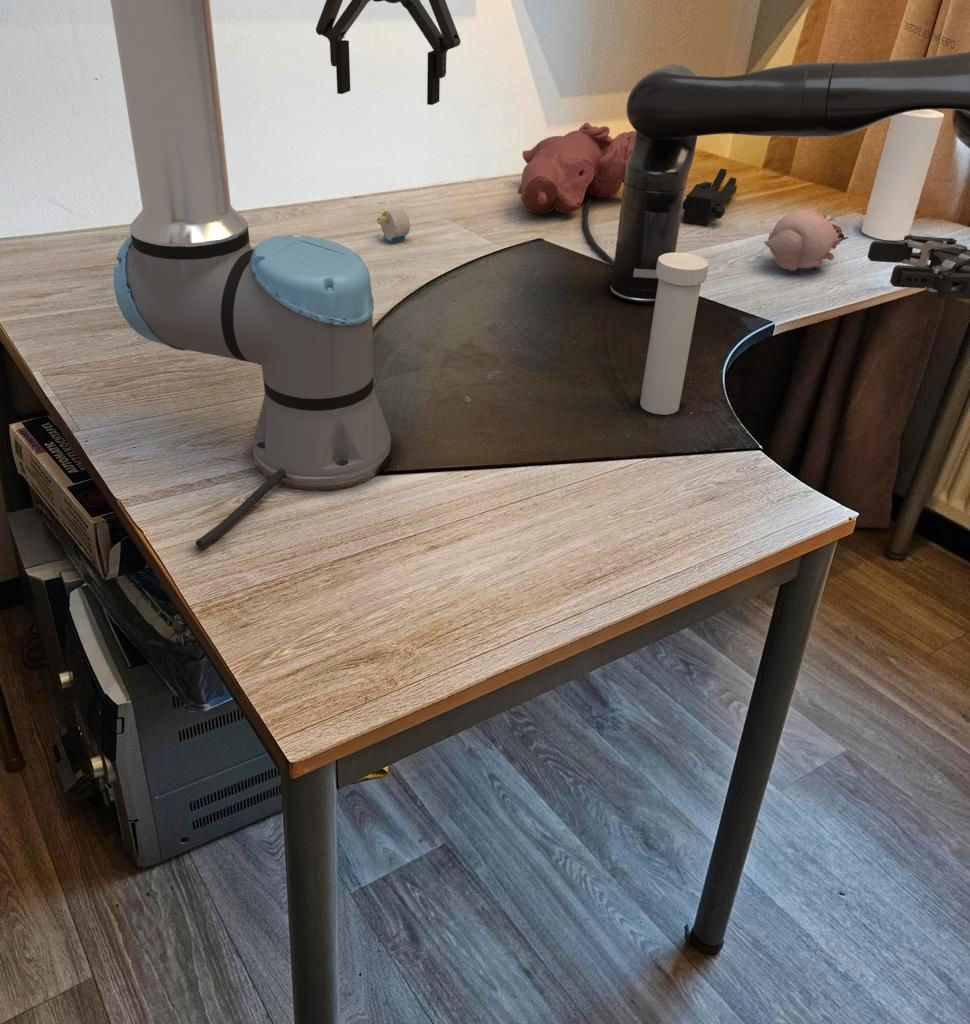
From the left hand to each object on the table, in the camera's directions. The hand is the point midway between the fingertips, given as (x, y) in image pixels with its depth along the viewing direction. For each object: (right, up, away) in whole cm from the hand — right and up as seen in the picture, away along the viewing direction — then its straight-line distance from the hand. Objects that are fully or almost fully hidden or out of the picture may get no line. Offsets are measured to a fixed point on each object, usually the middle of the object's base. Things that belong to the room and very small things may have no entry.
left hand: (388, 97), depth 135 cm
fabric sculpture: (+31, +3, +57) cm, 65 cm away
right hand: (+58, -30, -26) cm, 70 cm away
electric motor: (-3, -10, +34) cm, 36 cm away
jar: (+36, -45, -13) cm, 58 cm away
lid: (+36, -29, -23) cm, 52 cm away
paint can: (+90, -4, +50) cm, 103 cm away
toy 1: (+60, +4, +61) cm, 85 cm away
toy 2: (+68, -15, +33) cm, 77 cm away
